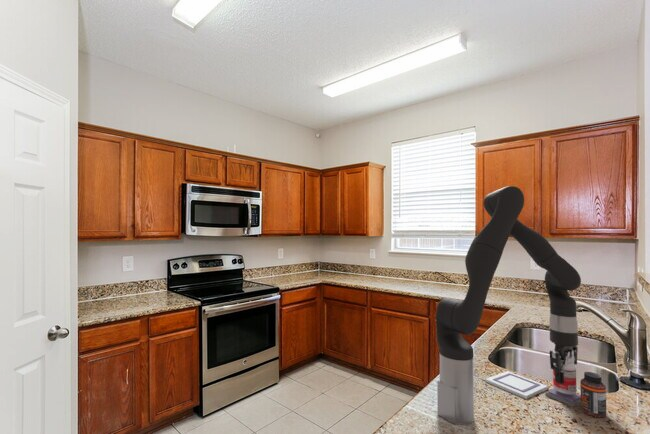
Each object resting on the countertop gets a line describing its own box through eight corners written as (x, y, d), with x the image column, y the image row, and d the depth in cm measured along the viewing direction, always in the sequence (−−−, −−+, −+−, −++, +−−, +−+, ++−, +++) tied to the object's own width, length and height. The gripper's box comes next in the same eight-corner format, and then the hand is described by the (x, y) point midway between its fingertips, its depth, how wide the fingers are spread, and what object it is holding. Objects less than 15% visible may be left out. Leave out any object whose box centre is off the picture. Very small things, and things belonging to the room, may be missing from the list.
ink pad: (574, 407, 100) (574, 402, 100) (545, 395, 107) (545, 391, 107) (585, 400, 104) (585, 395, 104) (557, 390, 111) (557, 385, 111)
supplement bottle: (575, 407, 100) (574, 369, 101) (595, 407, 100) (594, 370, 100) (591, 418, 94) (590, 378, 95) (612, 419, 94) (611, 378, 94)
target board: (526, 399, 104) (526, 395, 104) (485, 381, 116) (485, 378, 116) (548, 389, 112) (547, 385, 112) (507, 373, 124) (507, 370, 124)
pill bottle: (554, 384, 110) (554, 351, 111) (577, 390, 106) (576, 356, 106) (551, 390, 105) (551, 355, 106) (575, 397, 101) (574, 361, 102)
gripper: (566, 334, 100) (567, 390, 99) (586, 328, 107) (588, 380, 106) (539, 328, 106) (540, 381, 105) (560, 323, 114) (561, 371, 113)
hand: (564, 380), depth 106 cm, fingers closed on pill bottle, 6 cm apart
